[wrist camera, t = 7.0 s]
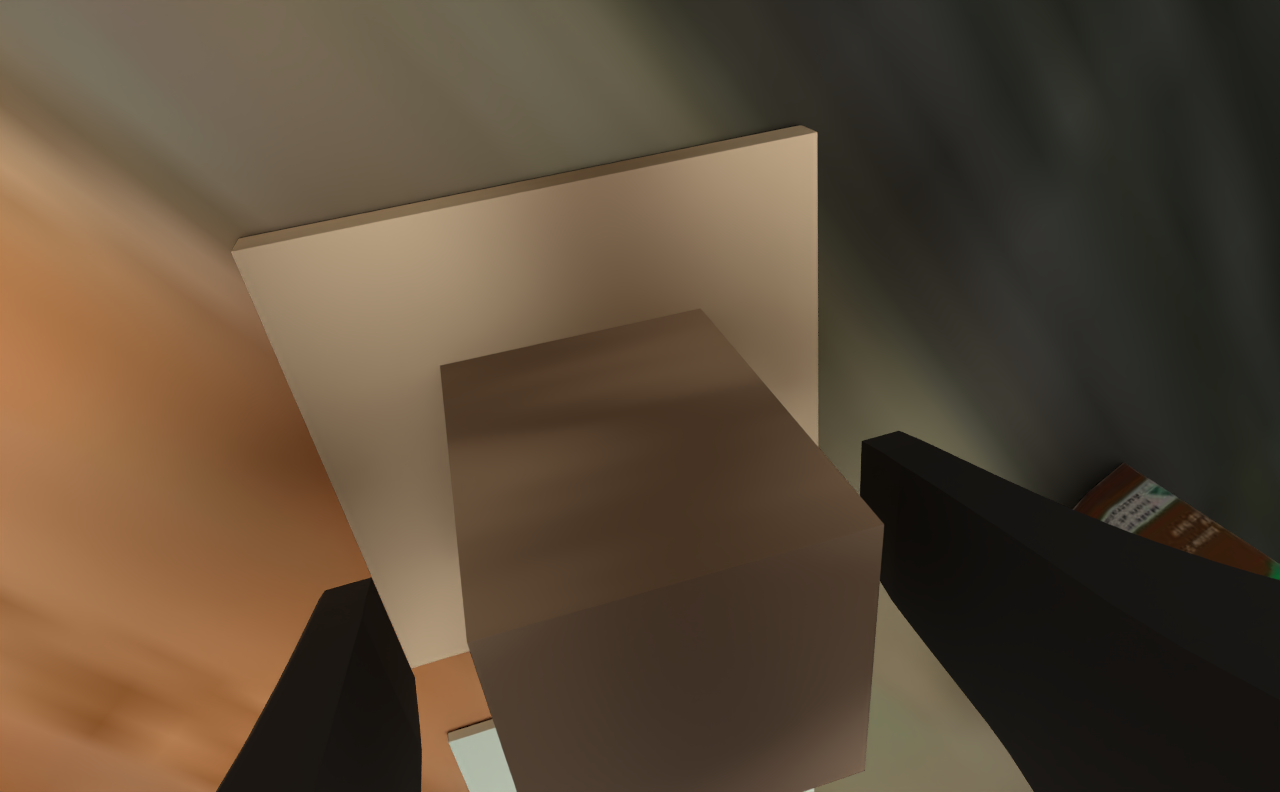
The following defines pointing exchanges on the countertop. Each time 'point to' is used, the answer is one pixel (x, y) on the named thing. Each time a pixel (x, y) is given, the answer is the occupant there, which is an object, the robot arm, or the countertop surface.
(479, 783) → the tile
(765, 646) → the block
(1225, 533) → the food container
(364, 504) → the coaster
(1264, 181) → the countertop surface
